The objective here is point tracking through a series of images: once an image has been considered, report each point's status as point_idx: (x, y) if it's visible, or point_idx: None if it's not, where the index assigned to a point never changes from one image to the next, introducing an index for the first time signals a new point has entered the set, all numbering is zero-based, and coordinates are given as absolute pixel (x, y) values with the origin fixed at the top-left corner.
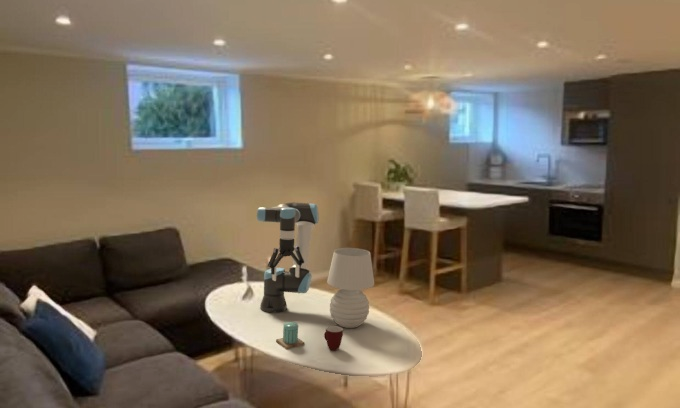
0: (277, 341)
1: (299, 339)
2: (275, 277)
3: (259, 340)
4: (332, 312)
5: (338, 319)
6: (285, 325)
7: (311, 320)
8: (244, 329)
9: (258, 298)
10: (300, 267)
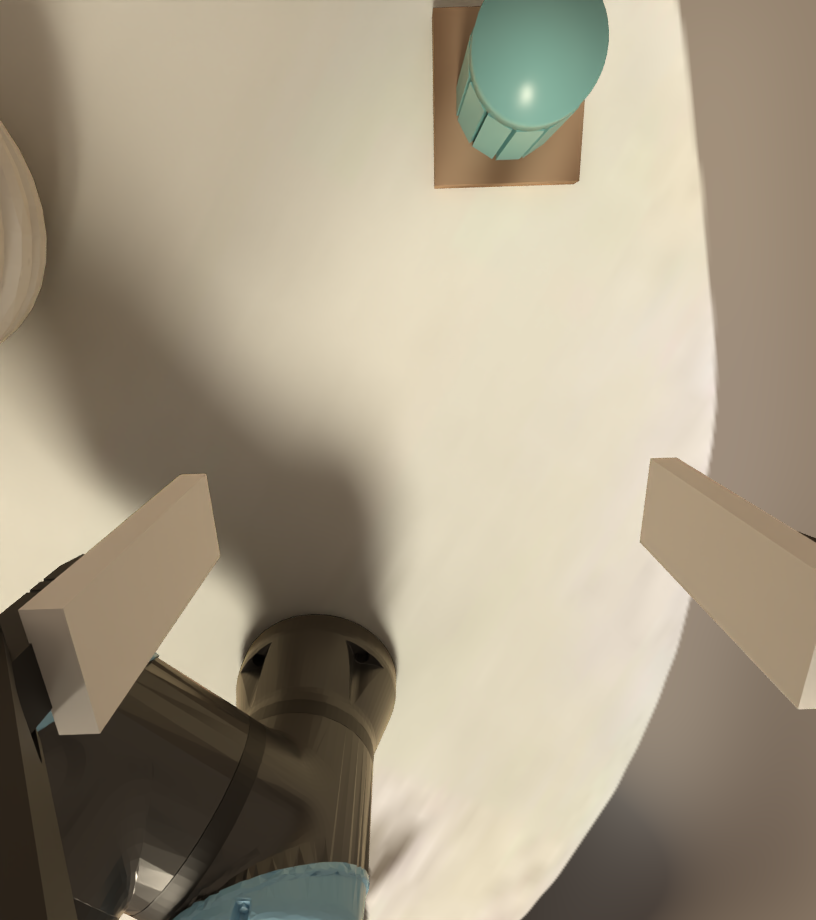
0: (578, 160)
1: (438, 86)
2: (698, 480)
3: (650, 262)
4: (18, 214)
5: (13, 147)
6: (587, 60)
7: (185, 413)
8: (628, 467)
9: None
10: (27, 596)
